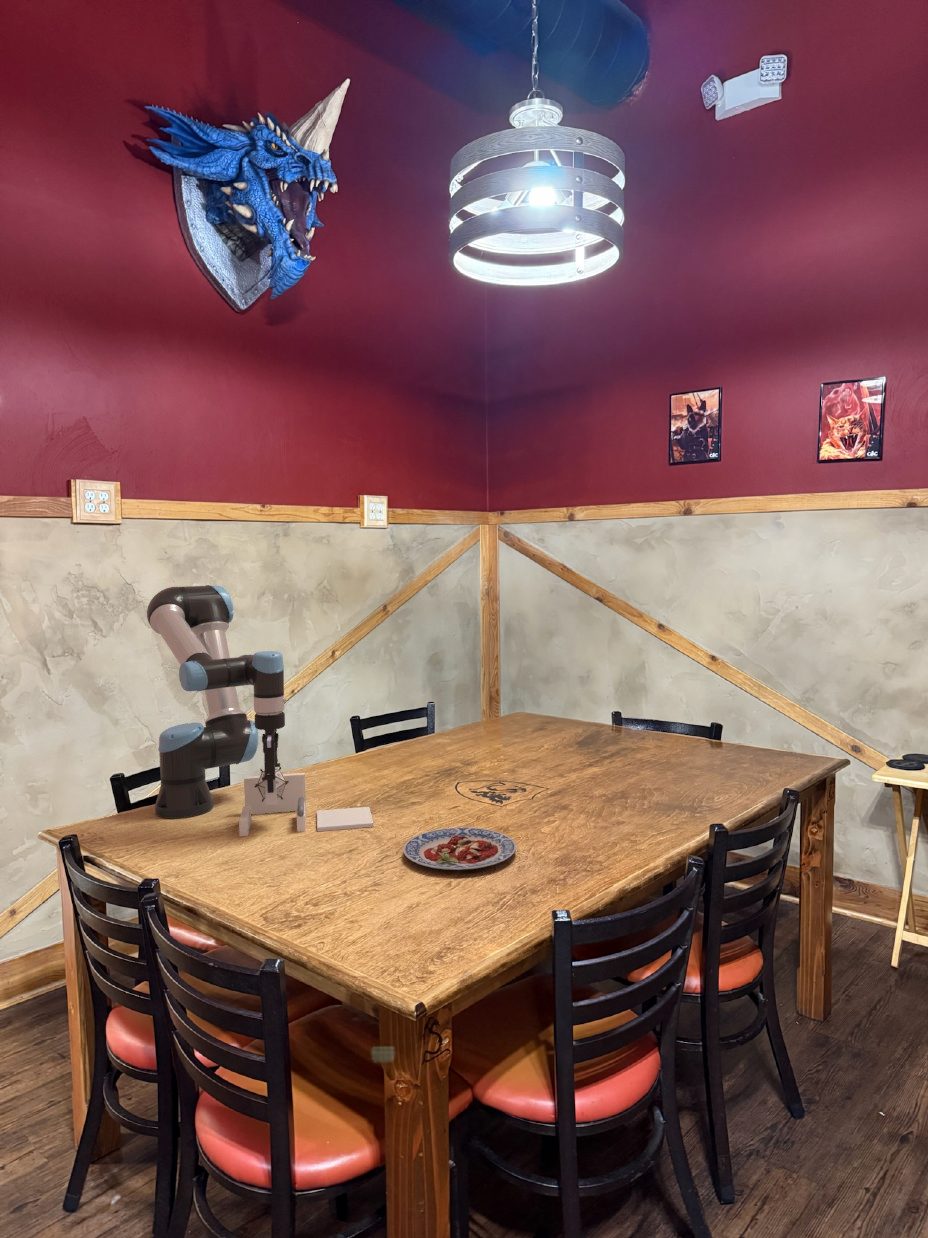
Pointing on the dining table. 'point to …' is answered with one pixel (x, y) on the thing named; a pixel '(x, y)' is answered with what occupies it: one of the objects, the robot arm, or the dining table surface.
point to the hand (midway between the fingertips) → (272, 798)
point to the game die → (279, 784)
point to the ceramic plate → (459, 848)
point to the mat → (344, 819)
